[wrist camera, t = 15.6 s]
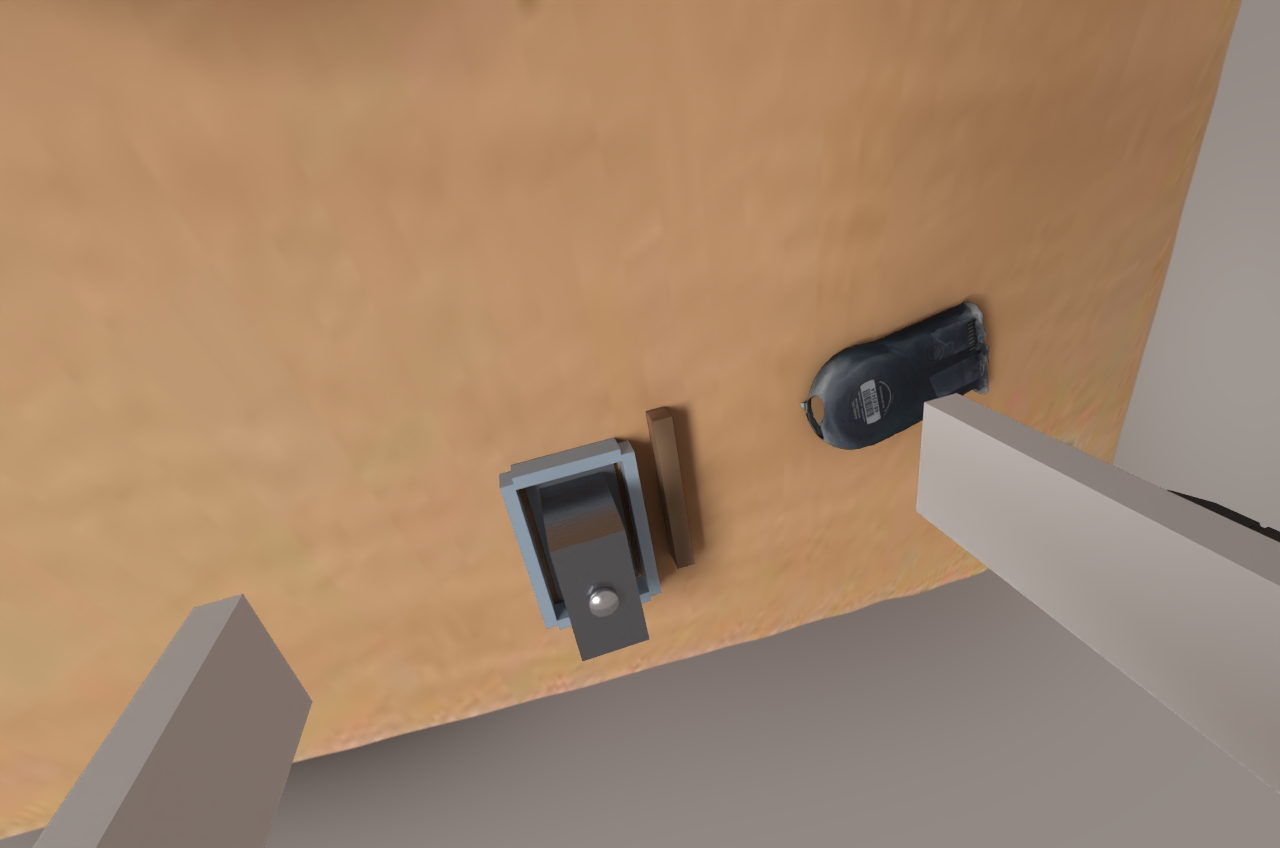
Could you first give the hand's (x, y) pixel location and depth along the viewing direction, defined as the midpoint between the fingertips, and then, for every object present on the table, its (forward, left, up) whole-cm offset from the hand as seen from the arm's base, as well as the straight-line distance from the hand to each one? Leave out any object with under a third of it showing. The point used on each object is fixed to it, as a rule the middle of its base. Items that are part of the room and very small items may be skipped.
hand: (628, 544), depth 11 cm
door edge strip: (+7, -18, -29) cm, 35 cm away
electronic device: (+27, -14, -29) cm, 42 cm away
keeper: (0, -20, -29) cm, 35 cm away
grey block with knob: (0, -20, -28) cm, 35 cm away
